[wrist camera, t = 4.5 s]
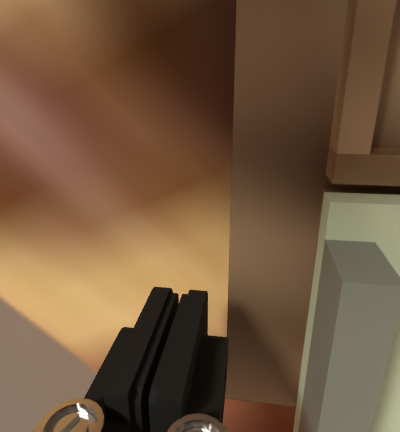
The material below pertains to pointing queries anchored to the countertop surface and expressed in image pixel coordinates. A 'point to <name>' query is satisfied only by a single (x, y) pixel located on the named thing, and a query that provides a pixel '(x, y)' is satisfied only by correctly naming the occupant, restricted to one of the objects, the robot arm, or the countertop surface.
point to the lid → (353, 319)
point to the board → (300, 165)
